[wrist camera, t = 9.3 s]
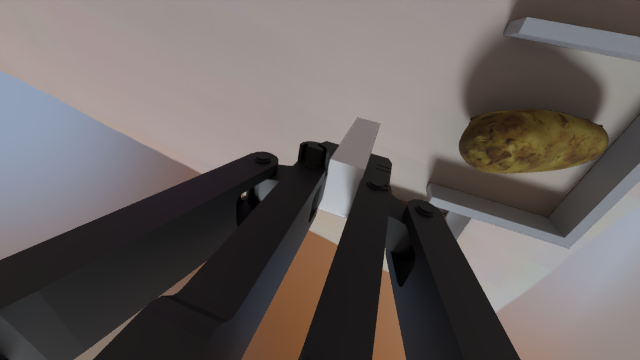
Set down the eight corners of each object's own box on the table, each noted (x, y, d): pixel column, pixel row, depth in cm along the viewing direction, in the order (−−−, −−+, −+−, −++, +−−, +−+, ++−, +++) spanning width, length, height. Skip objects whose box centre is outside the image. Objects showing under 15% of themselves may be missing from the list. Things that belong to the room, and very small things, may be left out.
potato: (536, 185, 30) (574, 224, 23) (440, 140, 31) (450, 166, 24) (600, 125, 26) (670, 153, 19) (486, 75, 26) (514, 85, 20)
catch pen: (509, 21, 24) (527, 16, 21) (708, 57, 21) (765, 59, 18) (425, 189, 34) (428, 204, 31) (551, 227, 32) (568, 248, 28)
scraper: (365, 209, 39) (363, 217, 37) (374, 183, 37) (373, 191, 35) (454, 238, 37) (456, 249, 35) (470, 214, 34) (474, 224, 32)
